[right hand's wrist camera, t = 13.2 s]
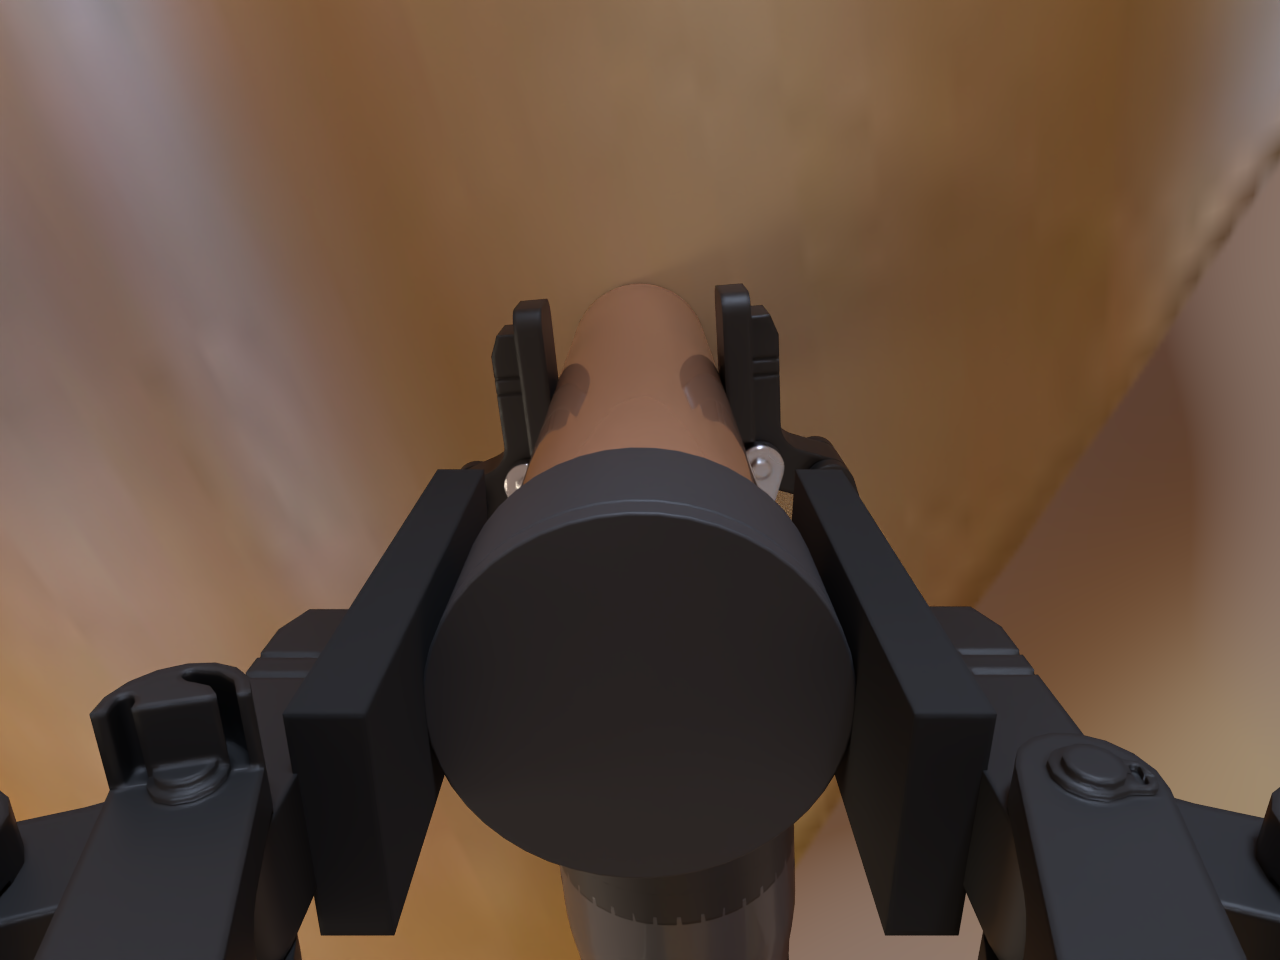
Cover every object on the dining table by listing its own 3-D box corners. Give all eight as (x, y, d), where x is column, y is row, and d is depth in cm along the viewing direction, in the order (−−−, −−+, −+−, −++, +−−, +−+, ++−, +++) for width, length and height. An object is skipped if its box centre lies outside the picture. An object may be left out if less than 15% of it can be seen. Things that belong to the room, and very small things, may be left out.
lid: (591, 814, 13) (582, 937, 11) (385, 568, 12) (330, 657, 10) (883, 662, 12) (931, 765, 10) (699, 372, 11) (713, 425, 9)
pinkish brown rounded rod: (621, 437, 30) (590, 881, 12) (547, 330, 28) (385, 644, 10) (730, 369, 29) (883, 735, 11) (660, 256, 28) (698, 455, 9)
